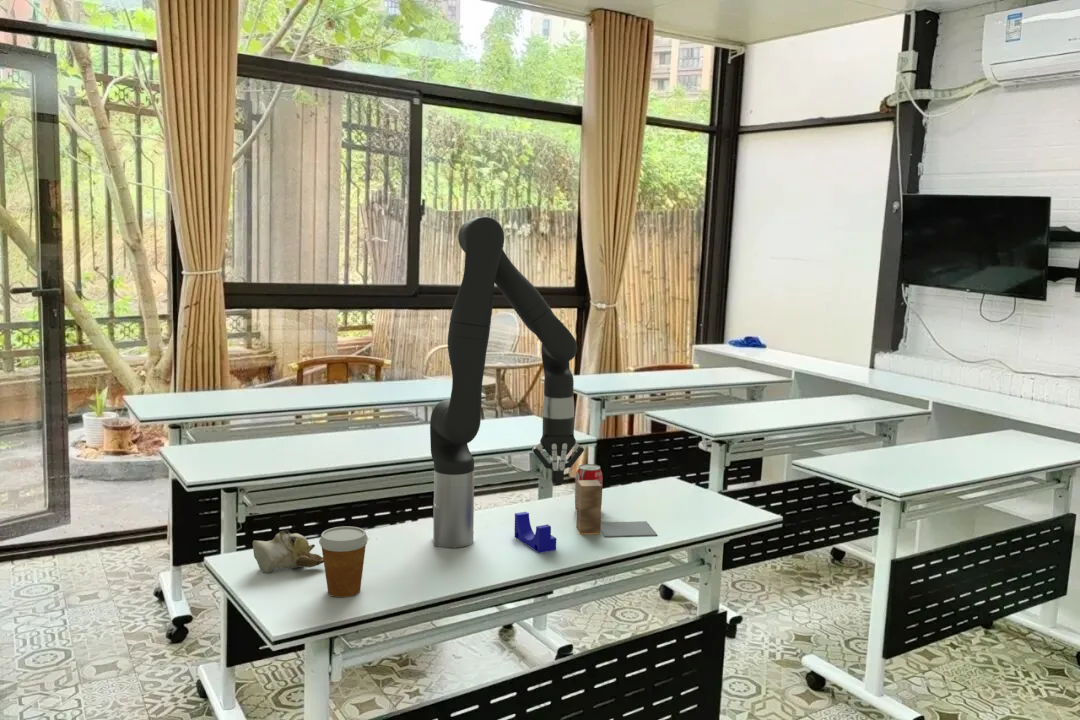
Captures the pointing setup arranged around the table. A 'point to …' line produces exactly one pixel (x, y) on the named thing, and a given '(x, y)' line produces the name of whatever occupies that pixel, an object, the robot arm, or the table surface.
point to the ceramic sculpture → (285, 552)
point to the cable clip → (537, 541)
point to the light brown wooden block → (588, 506)
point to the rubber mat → (626, 529)
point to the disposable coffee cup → (343, 559)
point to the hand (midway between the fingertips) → (557, 484)
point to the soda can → (587, 476)
